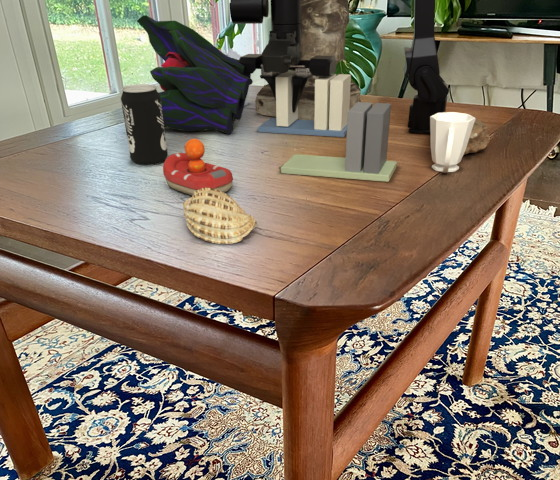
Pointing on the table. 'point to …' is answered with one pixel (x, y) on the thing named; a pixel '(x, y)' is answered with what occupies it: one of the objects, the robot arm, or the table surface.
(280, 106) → the white box
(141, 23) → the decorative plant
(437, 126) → the cup
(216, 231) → the seashell
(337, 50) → the sculpture
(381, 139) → the green base board
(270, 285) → the table surface
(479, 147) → the rock
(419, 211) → the table surface
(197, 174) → the toy boat
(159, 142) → the beverage can
